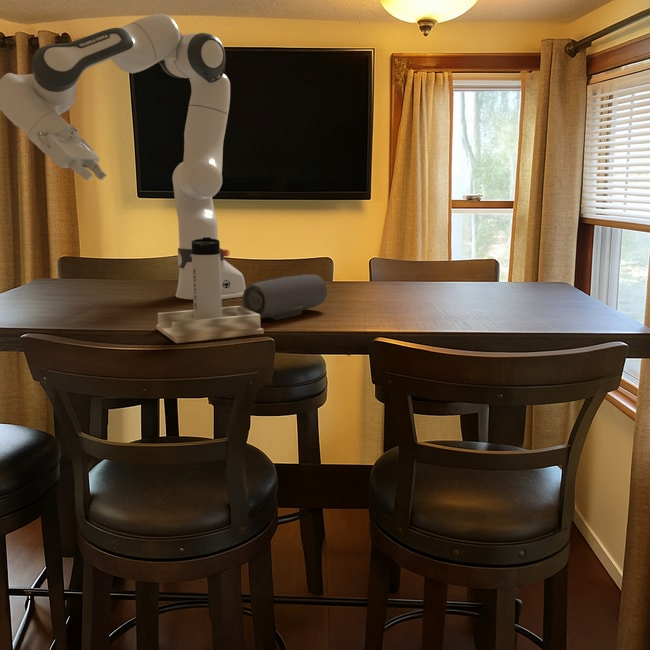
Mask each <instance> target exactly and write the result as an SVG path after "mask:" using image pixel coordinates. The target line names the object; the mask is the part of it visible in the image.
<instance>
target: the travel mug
mask: <svg viewBox="0 0 650 650" xmlns="http://www.w3.org/2000/svg"><path fill="white" fill-rule="evenodd" d="M220 243H221V242H220V240H219V239H218V240H217V239H211V237H203V239H196V240H193V241H192V276H193V299H192V300H193V310H194V320H199V319H210V318H220V317H222V307H223V305H222V303H223V301H222V299H221V266H220V250H219V249H220V248H221V246H220Z"/></svg>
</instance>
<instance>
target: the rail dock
mask: <svg viewBox="0 0 650 650" xmlns="http://www.w3.org/2000/svg"><path fill="white" fill-rule="evenodd" d="M157 321H158V322H157V324H155V325H156V327H155V328H156V330H158V331H159V332H160V333H162V335H164V336H166V337H167V338H169V339H170V340H171V341H173V342H174V343H176V344H182V343H191V342H201V341H208V340H219V339H227V338H236V337H244V336H255V335H262V334H263V335H264V333H265V332H264V331H265V329H264V328H262V327H261V318H260V314H258V313H255V312H253V311H251V310H249V309H246V308H244V307H243V305H234V306H233V305H232V306H224V307H223V306H222V317H220V318H210V319H199V320H194V309H190V310H189V309H188V310H177V311H167V312H165V311H164V312H157Z"/></svg>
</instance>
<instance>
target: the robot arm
mask: <svg viewBox="0 0 650 650" xmlns="http://www.w3.org/2000/svg"><path fill="white" fill-rule="evenodd" d="M107 61H112V63H114V64H115V66H116V67H117V68H118V69H120V70H122V71H124V72H125V73H129V74H136V73H140V72H142V71H145V70H147V69H149V68H150V67H153V66H154V65H155V64H158V63H159V65H160V67H161V69H162V70H163V71H164V72H165V74H167V75H169V76H171V77H173V78H178V79H183V78H184V79H189V82H190V86H191V87H190V88H191V93H190V94H191V95H190V99H189V103H188V110H187V116H186V121H185V126H184V133H183V138H184V139H183V140H184V141H183V143H184V145H183V147H184V148H183V149H184V150H183V161H182V162H180V163H179V164H178V165H177V166H176V167H175V169H174V171H173V173H172V184H173V194H174V195H173V196H174V203H175V208H176V214H177V221H178V222H177V225H178V243H179V247H178V248H177V263H178V268H179V271H178V273H179V274H178V282H177V289H176V293H175V297H176V298H178V299H183V300H193V276H192V241H193V240H196V239H203V237H211V239H217V240H219V239H218V238H219V235H218V233H219V231H218V218H217V214H216V211H215V207H214V206H215V205H214V201H213V197H215V196H216V195H217V194H218V193H219V192H220V189H221V187H222V185H223V175H222V174H223V154H224V150H223V149H224V139H225V135H226V129H227V125H228V124H227V123H228V116H229V111H230V103H231V82H230V81H231V80H230V79H229V78H228V76H227V75H226V74H225V71H226V52H225V47H224V45H223V43H222V41H221V40H220V38H218V37H217V36H215V35H213V34H210V33H208V32H207V33H206V32H200V33H199V32H198V33H196V32H195V33H194V32H193V33H186V34H183V33H181V31H180V29H179V26H178V24H177V23H176V21H175V20H174V19H173V17H170V16H169V15H167V14H164V13H155V14H152V15H151V14H150V15H148V16H145V17H141V18H139V19H136V20H134V21H132V22H130V23H128V24H127V23H126V25H123V26H121V27H113V28H112V27H111V28H107V29H104V30H101V31H98V32H96V33H93V34H89V35H87V36H84V37H82V38H79V39H76V40H73V41H69V42H63V43H62V42H61V43H49V44H45V45H43V46H41V47H39V48H38V49H37V50H36V51H35V52H34V54H33V56H32V58H31V67H32V73H31V74H29V73H28V74H15V73H12V72H7V73H5V74H4V75H2V76H1V77H0V111H1V113H3V115H4V116H6V117H7V119H8V120H9V121H10V122H12V124H13V125H15V126H16V127H17V128H18V129H21V130H22V131H23V132H24V133H25V135H26V137H27V138H28V139H29V140H30V141H31V142H32V143H33V144H34V145H35V146H36V147H37V148H38V149H39V150H40V151H42V153H43V154H46V155H47V156H48V157H49V159H51V160H52V162H54V163H55V164H56V165H57V166H58V167H59V168H62V169H64V168H65V169H71V170H72V171H73V172H75V173H76V174H78V176H80V177H82V178H83V180H86V181H87V180H91V179H92V177H93V175H94V176H95V177H96V178H97V179H98V180H101V181H102V180H104V179H105V178H106V177H107V174H106V172H105V171H103V170H102V168H101V166H100V165H99V163H98V162H99V161H100V157H99V155H98V153H97V152H96V151H95V150H94V149H93V148H92V147H91V145H89V144H88V142H87V141H86V140H85V139H84V138H83V137H81V135H79V134H80V131H79V130H78V129H77V128H76V127H74V126H73V125H71V124H69V123H68V122H67V121H66V119H64V118H63V117H62V116H61V115H62V114H63V115H64V114H65V113H67V112H68V111H70V110H71V109H72V108H73V107H74V104H75V102H76V98H77V93H78V92H77V91H78V85H79V84H78V83H79V79H80V78H81V76H82V74H83V73H84V72H85V71H86V70H87V69H89V68H92V67H94V66H97V65H99V64H103V63H104V62H107ZM91 171H92V172H93V173H92V172H91ZM219 250H220V266H221V300H226V299H233V298H234V299H235V298H242V297H243V293H244V291H245V289H246V287H247V286H246V282H245V278H244V275H243V273H242V272H241V271H239V270H238V269H237V268H236V267H234V266H233V265H232V264H230V263H229V262H228V261H227V260H225V257H229V256H230V254H231V252H230V250H229V249H225V248H224V249H223V248H221V247H220V249H219Z"/></svg>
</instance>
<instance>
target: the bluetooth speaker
mask: <svg viewBox="0 0 650 650" xmlns="http://www.w3.org/2000/svg"><path fill="white" fill-rule="evenodd" d="M245 287H246V289H245V291H244V293H243V297H241V298H242V299H241V303H242V307H244V308H246V309H249V310H251V311H253V312H255V313H258V314H260V319H266V318H269V319H270V320H282V319H287V317H288V318H292V316H293V317H296V315H297V316H300V315H302V314H303V311H305V310H309V309H312V308H315V307H317V306H319V305H322V304H323V303H324V302H325V300H326V299H327V295H328V290H327V285H326V283H325V281H324V279H323V278H322V276H320V275H318V274H297V275H291V276H282V277H278V278H271V279H268V280H264V281H263V280H262V281H258V282H255V283H252V284H249V285H247V286H245ZM299 314H300V315H299Z"/></svg>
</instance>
